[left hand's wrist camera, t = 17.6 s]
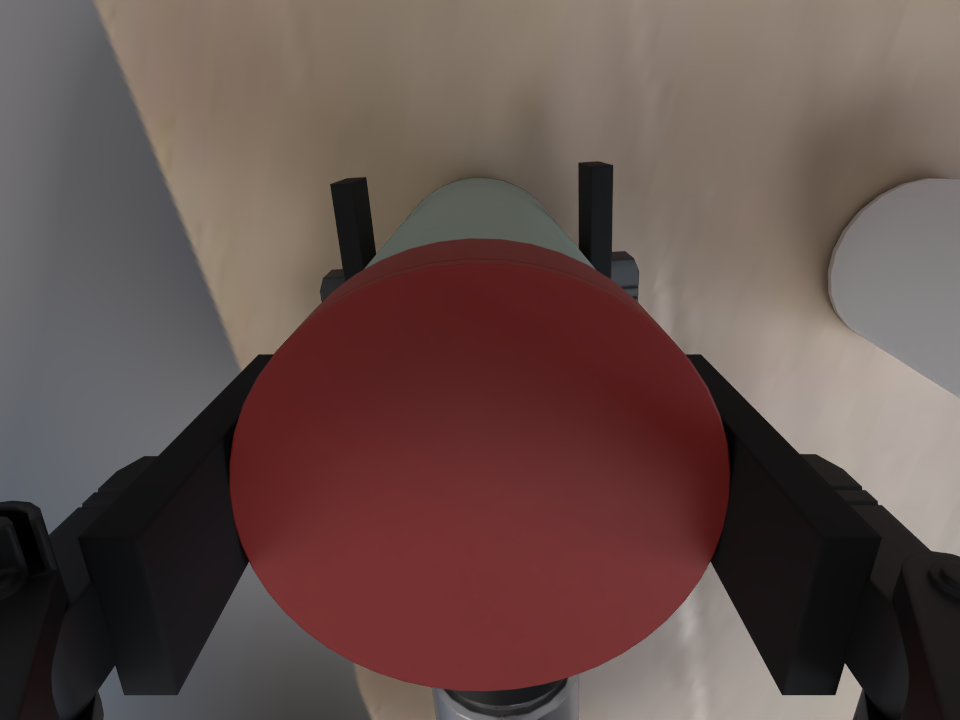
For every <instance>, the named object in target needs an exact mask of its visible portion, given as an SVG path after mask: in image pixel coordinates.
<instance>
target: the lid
mask: <svg viewBox="0 0 960 720" xmlns="http://www.w3.org/2000/svg"><path fill="white" fill-rule="evenodd" d="M730 475H731V471H730V461H729V451H728V443H727V439H726V435H725V432H724V428H723V424H722V420H721V417H720V414H719V411H718V409H717V407H716V405H715V402H714V400H713V398H712V396H711V393H710V391H709V389H708V387H707V385H706V384H705V382H704V381H703V379H702V378H701V376H700V374H699V373H698V371H697V370H696V368H695V367H694V365H693V364H692V362H691V360H690V359H689V358H688V357H687V356H686V355H685V354H684V353H683V351H682V350H681V349H680V348H679V347H678V346H677V345H676V344H675V342H674V341H673V340H672V339H671V338H670V337H669V336H668V335H667V333H666V332H665V331H664V330H663V329H662V328H661V327H660V326H659V325H658V324H657V323H656V322H655V320H654V319H653V318H652V317H651V316H650V315H649V314H648V313H647V312H646V311H645V310H644V309H643V307H642V306H641V305H640V304H639V303H638V302H637V301H636V300H635V299H634V298H633V297H632V296H631V295H629V294H628V293H627V292H626V291H625V290H623V289H622V288H621V287H620V286H619V285H618V284H616V283H615V282H614V281H613V280H611V279H610V278H608V277H606V276H605V275H603V274H602V273H600V272H599V271H597V270H595V269H594V268H592V267H591V266H589V265H587V264H585V263H583V262H580V261H578V260H576V259H574V258H572V257H569V256H567V255H565V254H563V253H560V252H557V251H554V250H550V249H547V248H544V247H540V246H537V245H534V244H529V243H523V242H517V241H510V240H504V239H479V238H468V239H459V240H449V241H440V242H435V243H431V244H427V245H423V246H419V247H415V248H411V249H408V250H405V251H403V252H400V253H398V254H395V255H393V256H390V257H387V258H385V259H382V260H380V261H378V262H377V263H375V264H373V265H371V266H370V267H368V268H366V269H364V270H362V271H361V272H359V273H357V274H355V275H354V276H353V277H351V278H350V279H349V280H347V281H346V282H345V283H343V284H342V285H341V286H339V287H338V288H337V289H336V290H334V291H333V292H332V293H331V294H330V295H329V296H328V297H327V298H326V299H325V300H324V301H323V302H322V303H321V304H320V305H319V306H318V307H317V308H316V309H315V310H314V311H313V312H312V313H311V314H310V315H309V316H308V318H307V319H306V320H305V321H304V322H303V323H302V324H301V325H300V326H299V327H298V328H297V329H296V330H295V332H294V333H293V334H292V335H291V336H290V337H289V338H288V339H287V340H286V341H285V342H284V343H283V345H282V346H281V347H280V348H279V349H278V350H277V351H276V352H275V354H274V355H273V356H272V358H271V359H270V360H269V362H268V363H267V365H266V366H265V367H264V369H263V370H262V371H261V373H260V374H259V376H258V377H257V379H256V381H255V383H254V385H253V387H252V389H251V391H250V392H249V394H248V396H247V398H246V400H245V402H244V404H243V407H242V410H241V413H240V416H239V419H238V422H237V425H236V428H235V431H234V436H233V442H232V448H231V454H230V460H229V492H230V498H231V504H232V509H233V515H234V521H235V525H236V529H237V532H238V535H239V538H240V542H241V545H242V547H243V549H244V551H245V553H246V556H247V558H248V560H249V562H250V564H251V566H252V568H253V570H254V572H255V573H256V575H257V576H258V578H259V579H260V581H261V582H262V584H263V585H264V587H265V589H266V590H267V592H268V593H269V594H270V595H271V596H272V598H273V599H274V600H275V601H276V602H277V604H278V605H279V606H280V607H281V608H282V609H283V611H284V612H285V613H286V614H287V615H288V616H289V617H290V618H291V619H293V620H294V621H295V622H296V623H297V624H298V625H299V626H300V627H301V628H302V629H303V630H305V631H306V632H307V633H308V634H310V635H311V636H312V637H314V638H315V639H317V640H318V641H319V642H321V643H322V644H324V645H325V646H326V647H328V648H329V649H331V650H333V651H334V652H336V653H338V654H340V655H341V656H343V657H345V658H347V659H348V660H350V661H352V662H354V663H356V664H359V665H361V666H363V667H366V668H368V669H370V670H372V671H375V672H377V673H380V674H383V675H386V676H389V677H392V678H395V679H398V680H402V681H405V682H409V683H414V684H419V685H423V686H428V687H433V688H442V689H450V690H459V691H497V690H510V689H519V688H525V687H531V686H536V685H542V684H546V683H550V682H554V681H557V680H561V679H564V678H568V677H571V676H574V675H577V674H579V673H582V672H584V671H587V670H589V669H592V668H594V667H597V666H599V665H601V664H603V663H605V662H607V661H609V660H611V659H613V658H615V657H616V656H618V655H620V654H622V653H624V652H625V651H627V650H628V649H630V648H631V647H633V646H634V645H636V644H637V643H639V642H640V641H642V640H643V639H645V638H646V637H647V636H648V635H650V634H651V633H652V632H653V631H654V630H656V629H657V628H658V627H659V626H660V625H662V624H663V623H664V622H665V621H666V620H667V619H668V618H669V617H670V616H671V615H672V614H673V613H674V612H675V611H676V610H677V609H678V607H679V606H680V605H681V604H682V603H683V602H684V601H685V600H686V598H687V597H688V596H689V594H690V593H691V592H692V590H693V589H694V587H695V586H696V585H697V583H698V582H699V580H700V579H701V578H702V576H703V574H704V572H705V570H706V568H707V566H708V564H709V563H710V561H711V559H712V557H713V555H714V553H715V550H716V547H717V545H718V542H719V539H720V537H721V534H722V531H723V528H724V523H725V518H726V513H727V507H728V502H729V494H730Z"/></svg>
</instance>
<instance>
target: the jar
mask: <svg viewBox="0 0 960 720" xmlns="http://www.w3.org/2000/svg"><path fill="white" fill-rule="evenodd" d="M468 238H479V239H504V240H510V241H517V242H523V243H529V244H534V245H537V246H540V247H544V248H547V249H550V250H554V251H557V252H560V253H563V254H565V255H567V256H569V257H572V258H574V259H576V260H578V261H580V262H583V263H585V264H587V265H589V266H591V267H592V268H594V267H593V266H592V264H591V263H590V262H589V261H588V260H587V258H586V257H585V256H584V255H583V254H582V252H581V251H580V250H579V249H578V248H577V247H576V245H575V244H574V243H573V242H572V241H571V239H570V238H569V237H568V236H567V235H566V233H565V232H564V231H563V230H562V229H561V227H560V226H559V225H558V224H557V223H556V222H555V220H554V219H553V218H552V217H551V216H550V214H549V213H548V212H547V211H546V210H545V208H544V207H543V206H542V205H541V204H540V203H539V202H538V201H537V200H536V199H535V198H533V197H532V196H531V195H530V194H528V193H527V192H525V191H524V190H522V189H520V188H519V187H517V186H514V185H512V184H510V183H507V182H504V181H500V180H496V179H489V178H471V179H464V180H459V181H456V182H453V183H450V184H448V185H445V186H443V187H441V188H439V189H438V190H436V191H434V192H433V193H431V194H430V195H429V196H428V197H426V198H425V199H424V200H423V201H422V202H421V203H420V204H419V205H418V206H417V207H416V208H415V209H414V211H413V212H412V213H411V214H410V215H409V216H408V218H407V219H406V220H405V221H404V222H403V224H402V225H401V226H400V227H399V228H398V230H397V231H396V232H395V233H394V234H393V235H392V237H391V238H390V239H389V240H388V241H387V243H386V244H385V245H384V246H383V247H382V249H381V250H380V251H379V252H378V253H377V254H376V256H375V257H374V258H373V259H372V260H371V262H370V263H369V264H368V265H367V266H366V268H368V267H370V266H371V265H373V264H375V263H377V262H378V261H380V260H382V259H385V258H387V257H390V256H393V255H395V254H398V253H400V252H403V251H405V250H408V249H411V248H415V247H419V246H423V245H427V244H431V243H435V242H440V241H449V240H459V239H468ZM366 268H365V269H366ZM594 269H595V268H594ZM595 270H596V269H595Z"/></svg>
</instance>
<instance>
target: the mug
mask: <svg viewBox="0 0 960 720" xmlns="http://www.w3.org/2000/svg"><path fill="white" fill-rule="evenodd" d="M828 294H829V297H830V300H831V303H832V305H833V308H834V311H835V313H836V314H837V315H838V316H839V318H840V319H841V320H842V322H843V323H844V324H845V326H847V327H848V328H850V329H851V330H853V331H854V332H856V333H857V334H859V335H860V336H862V337H864V338H865V339H867V340H868V341H870V342H871V343H873V344H875V345H876V346H878V347H879V348H881V349H882V350H884V351H886V352H887V353H889V354H890V355H892V356H894V357H895V358H897V359H898V360H900V361H901V362H903V363H905V364H906V365H908V366H909V367H911V368H912V369H914V370H916V371H917V372H919V373H920V374H922V375H924V376H925V377H927V378H928V379H930V380H931V381H933V382H935V383H936V384H938V385H939V386H941V387H943V388H944V389H946V390H947V391H949V392H950V393H952V394H954V395H955V396H957V397H958V398H960V179H936V178H925V179H920V180H916V181H912V182H908V183H903V184H901V185H899V186H897V187H895V188H893V189H891V190H889V191H887V192H885V193H883V194H881V195H879V196H878V197H876V198H875V199H874V200H873V201H871V202H870V203H869V204H868V205H866V206H865V207H864V208H863V209H861V210H860V211H859V212H858V213H857V214H856V215H855V217H854V218H853V219H852V220H851V221H850V223H849V224H848V225H847V226H846V228H845V229H844V230H843V232H842V234H841V235H840V237H839V239H838V241H837V243H836V245H835V247H834V249H833V252H832V256H831V260H830V264H829V268H828Z"/></svg>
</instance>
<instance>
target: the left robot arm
mask: <svg viewBox="0 0 960 720" xmlns="http://www.w3.org/2000/svg"><path fill="white" fill-rule="evenodd" d="M272 356H273V355H258V356H257V357H256V358H255V359H254V360H253V361H252V362H251V363H250V364H249V365H248V366H247V367H246V368H245V369H244V370H243V371H242V372H241V373H240V374H239V375H238V376H237V377H236V378H235V379H234V380H233V381H232V382H231V383H230V384H229V385H228V386H227V387H226V388H225V389H224V390H223V391H222V392H221V393H220V394H219V395H218V396H217V397H216V398H215V399H214V400H213V401H212V402H211V403H210V404H209V405H208V406H207V407H206V408H205V409H204V410H203V411H202V412H201V413H200V414H199V415H198V416H197V417H196V418H195V419H194V420H193V421H192V422H191V423H190V424H189V426H187V427H186V428H185V429H184V431H183V432H182V433H181V434H180V435H179V436H178V437H177V438H176V439H175V440H174V441H173V442H172V443H171V444H170V445H169V446H168V447H167V448H166V449H165V450H164V451H163V452H162V453H161V454H160V455H159V456H144V457H142V458H140V459H138V460H137V461H135V462H133V463H131V464H129V465H128V466H126V467H124V468H122V469H120V470H118V471H117V472H116V473H115V474H114V475H112V476H111V477H110V478H109V479H108V480H107V481H106V482H105V483H104V484H103V485H102V486H101V487H100V488H99V489H98V492H95V493H93V494H92V495H91V496H90V497H89V498H88V499H87V500H86V501H85V502H84V503H83V504H82V507H79V508H77V509H76V510H75V511H74V512H73V513H72V514H71V515H70V516H69V517H68V518H67V519H66V520H64V521H63V522H62V523H61V524H60V525H59V526H58V527H57V528H56V529H55V530H54V531H53V532H52V533H51V534H50V535H48V532H47V529H46V526H45V522H44V519H43V516H42V513H41V510H40V508H39V507H37V506H35V505H34V504H32V503H30V502H21V501H7V502H0V720H103V717H104V713H103V707H102V702H101V698H100V695H99V692H98V689H99V688H100V687H101V685H102V684H103V682H104V681H105V679H106V678H107V676H108V675H109V673H110V672H111V671H112V669H113V668H114V666H116V669H117V672H118V676H119V679H120V682H121V686H122V689H123V692H124V695H178V693H179V691H180V689H181V687H182V686H183V684H184V682H185V680H186V678H187V676H188V674H189V672H190V671H191V669H192V667H193V665H194V663H195V661H196V659H197V658H198V656H199V654H200V652H201V650H202V648H203V646H204V645H205V643H206V641H207V639H208V637H209V635H210V633H211V631H212V630H213V628H214V626H215V624H216V622H217V620H218V618H219V617H220V615H221V613H222V611H223V609H224V607H225V605H226V604H227V602H228V600H229V598H230V596H231V594H232V592H233V590H234V589H235V587H236V585H237V583H238V581H239V579H240V577H241V576H242V574H243V572H244V570H245V568H246V566H247V564H248V562H249V560H248V558H247V556H246V553H245V551H244V549H243V547H242V545H241V542H240V538H239V535H238V532H237V529H236V525H235V521H234V515H233V509H232V504H231V498H230V492H229V460H230V454H231V448H232V442H233V436H234V431H235V428H236V425H237V422H238V419H239V416H240V413H241V410H242V407H243V404H244V402H245V400H246V398H247V396H248V394H249V392H250V391H251V389H252V387H253V385H254V383H255V381H256V379H257V377H258V376H259V374H260V373H261V371H262V370H263V369H264V367H265V366H266V365H267V363H268V362H269V360H270V359H271V358H272ZM686 356H687V357H688V358H689V359H690V360H691V362H692V364H693V365H694V367H695V368H696V370H697V371H698V373H699V374H700V376H701V378H702V379H703V381H704V382H705V384H706V385H707V387H708V389H709V391H710V393H711V396H712V398H713V400H714V402H715V405H716V407H717V409H718V411H719V414H720V417H721V420H722V424H723V428H724V432H725V435H726V439H727V443H728V451H729V461H730V471H731V475H730V494H729V502H728V507H727V513H726V518H725V523H724V528H723V531H722V534H721V537H720V539H719V542H718V545H717V547H716V550H715V553H714V555H713V557H712V559H711V563H712V565H713V567H714V569H715V571H716V572H717V574H718V576H719V578H720V580H721V582H722V584H723V586H724V587H725V589H726V591H727V593H728V595H729V597H730V599H731V600H732V602H733V604H734V606H735V608H736V610H737V612H738V614H739V615H740V617H741V619H742V621H743V623H744V625H745V627H746V628H747V630H748V632H749V634H750V636H751V638H752V640H753V641H754V643H755V645H756V647H757V649H758V651H759V653H760V655H761V656H762V658H763V660H764V662H765V664H766V666H767V668H768V669H769V671H770V673H771V675H772V677H773V679H774V681H775V683H776V684H777V686H778V688H779V690H780V692H781V694H782V695H835V694H836V691H837V688H838V684H839V681H840V678H841V674H842V671H843V667H844V664H846V665H847V666H848V668H849V669H850V671H851V672H852V674H853V675H854V677H855V678H856V680H857V681H858V682H859V684H860V685H861V687H862V688H863V689H862V692H861V695H860V698H859V702H858V705H857V708H856V711H855V714H854V717H853V720H960V557H959V556H956V555H953V554H948V553H941V552H934V551H930V550H929V549H928V548H927V547H926V546H925V545H924V544H923V543H922V542H921V541H920V540H919V539H918V538H917V537H915V536H914V535H913V534H912V533H911V532H910V531H909V530H908V529H907V528H906V527H905V526H904V525H903V524H901V523H900V522H899V521H898V520H897V519H896V518H895V517H894V516H893V515H892V514H891V513H890V512H889V511H887V510H886V509H885V508H884V507H883V506H882V505H878V501H877V500H876V499H875V498H874V497H872V496H871V495H870V494H869V493H868V492H867V491H866V490H862V486H861V485H860V484H858V483H857V482H856V481H855V480H854V479H853V478H852V477H851V476H850V475H849V474H848V473H847V472H846V471H844V470H843V469H842V468H840V467H838V466H836V465H834V464H833V463H831V462H829V461H827V460H825V459H824V458H822V457H820V456H818V455H816V454H799V453H798V452H797V451H796V450H795V449H794V448H793V447H792V446H791V445H790V444H789V443H788V442H787V441H786V440H785V439H784V438H783V437H782V436H781V435H780V434H779V433H778V432H777V431H776V430H775V429H774V428H773V427H772V426H771V425H770V424H769V423H768V422H767V421H766V420H765V419H764V418H763V417H762V416H761V415H760V414H759V413H758V412H757V411H756V410H755V409H754V408H753V407H752V406H751V405H750V404H749V403H748V402H747V401H746V400H745V399H744V398H743V397H742V396H741V395H740V394H739V393H738V392H737V391H736V389H735V388H734V387H733V386H732V385H731V384H730V383H729V382H728V381H727V380H726V379H725V378H724V377H723V376H722V375H721V374H720V373H719V372H718V371H717V370H716V369H715V368H714V367H713V366H712V365H711V364H710V363H709V362H708V361H707V360H706V359H705V358H704V357H703V356H702V355H686Z"/></svg>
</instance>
